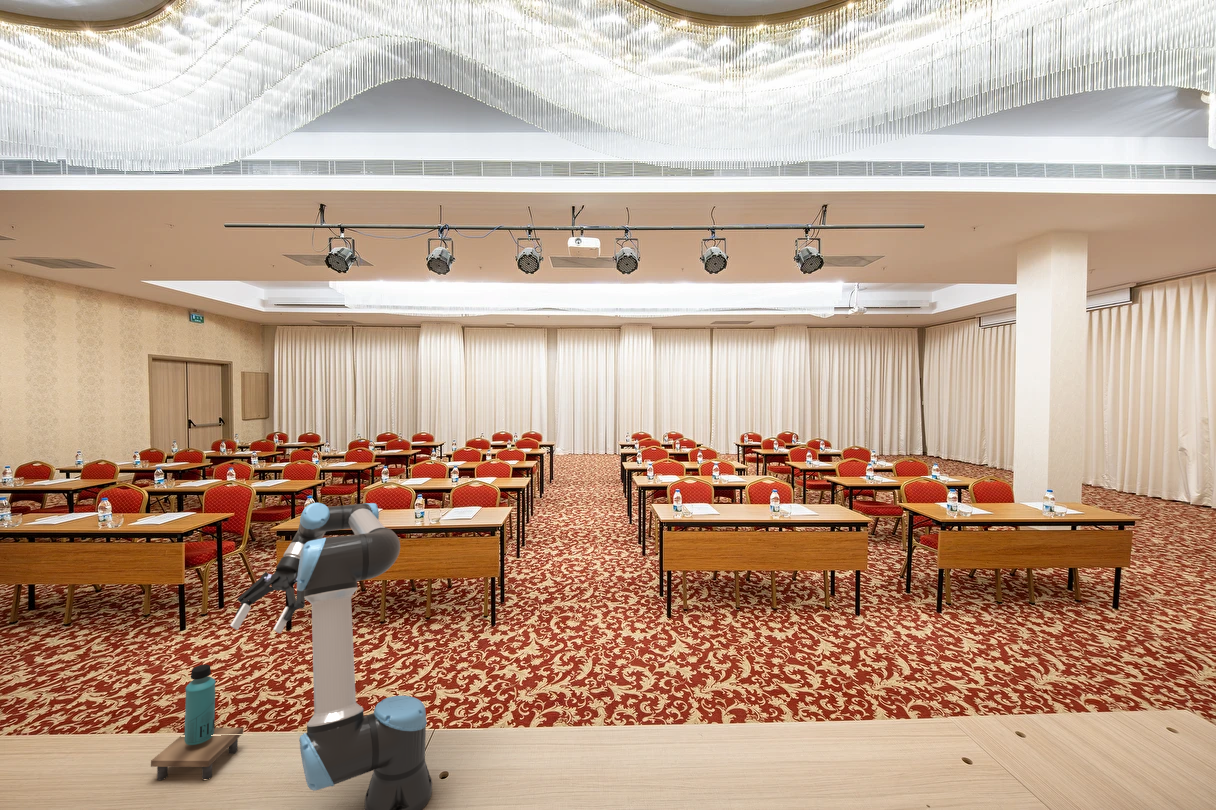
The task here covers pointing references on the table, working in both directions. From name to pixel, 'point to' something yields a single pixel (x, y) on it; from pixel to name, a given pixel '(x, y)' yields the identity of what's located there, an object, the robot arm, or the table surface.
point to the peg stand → (196, 753)
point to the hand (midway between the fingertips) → (255, 629)
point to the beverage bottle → (200, 706)
